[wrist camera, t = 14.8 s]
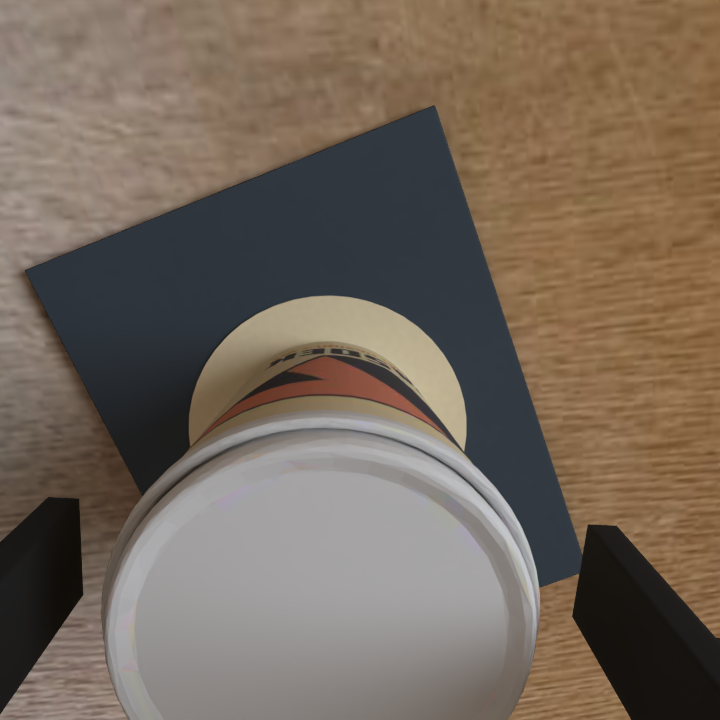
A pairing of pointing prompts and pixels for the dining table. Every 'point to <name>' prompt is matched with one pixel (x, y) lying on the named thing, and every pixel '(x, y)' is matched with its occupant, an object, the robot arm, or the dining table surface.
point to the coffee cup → (321, 561)
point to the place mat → (311, 311)
